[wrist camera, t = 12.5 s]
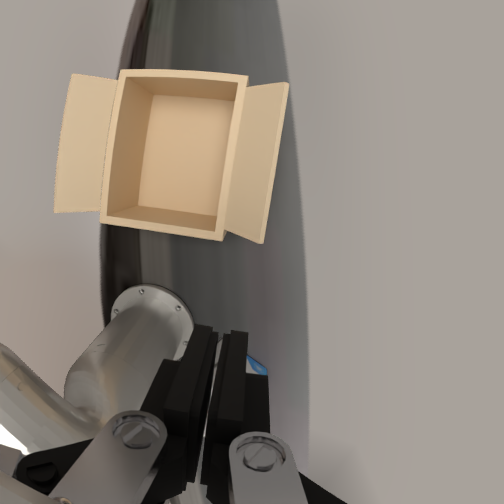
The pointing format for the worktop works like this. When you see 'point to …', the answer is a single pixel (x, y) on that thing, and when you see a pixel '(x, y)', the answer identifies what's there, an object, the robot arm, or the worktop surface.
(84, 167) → the flap
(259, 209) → the flap
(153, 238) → the worktop surface
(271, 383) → the worktop surface
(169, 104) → the carton
